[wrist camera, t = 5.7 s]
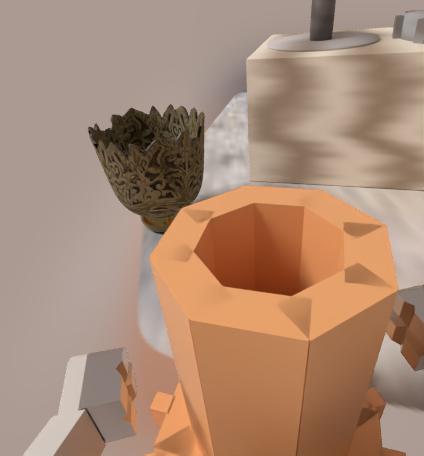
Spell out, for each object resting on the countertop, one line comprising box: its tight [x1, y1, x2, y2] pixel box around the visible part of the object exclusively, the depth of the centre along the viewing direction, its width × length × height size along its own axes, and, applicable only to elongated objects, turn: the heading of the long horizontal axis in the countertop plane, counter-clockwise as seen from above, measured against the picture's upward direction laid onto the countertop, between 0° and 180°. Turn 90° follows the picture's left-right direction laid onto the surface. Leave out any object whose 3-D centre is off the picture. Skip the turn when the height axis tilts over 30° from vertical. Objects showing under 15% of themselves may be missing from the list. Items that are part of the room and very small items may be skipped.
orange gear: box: [144, 185, 406, 456], centre depth 10 cm, size 9×9×10 cm
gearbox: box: [246, 0, 424, 190], centre depth 30 cm, size 20×13×14 cm, turn 74°
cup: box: [88, 104, 205, 232], centre depth 25 cm, size 7×7×8 cm
